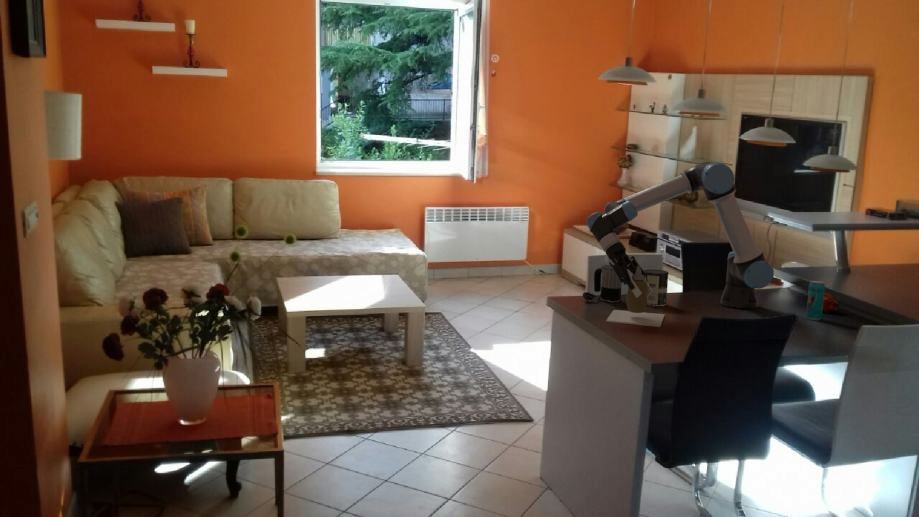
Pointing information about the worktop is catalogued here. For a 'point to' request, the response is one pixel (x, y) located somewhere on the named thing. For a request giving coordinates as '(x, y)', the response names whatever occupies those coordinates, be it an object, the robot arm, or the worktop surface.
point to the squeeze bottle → (639, 303)
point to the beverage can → (815, 300)
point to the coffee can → (657, 287)
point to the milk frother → (606, 284)
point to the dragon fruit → (829, 303)
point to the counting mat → (636, 318)
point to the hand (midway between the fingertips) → (644, 294)
